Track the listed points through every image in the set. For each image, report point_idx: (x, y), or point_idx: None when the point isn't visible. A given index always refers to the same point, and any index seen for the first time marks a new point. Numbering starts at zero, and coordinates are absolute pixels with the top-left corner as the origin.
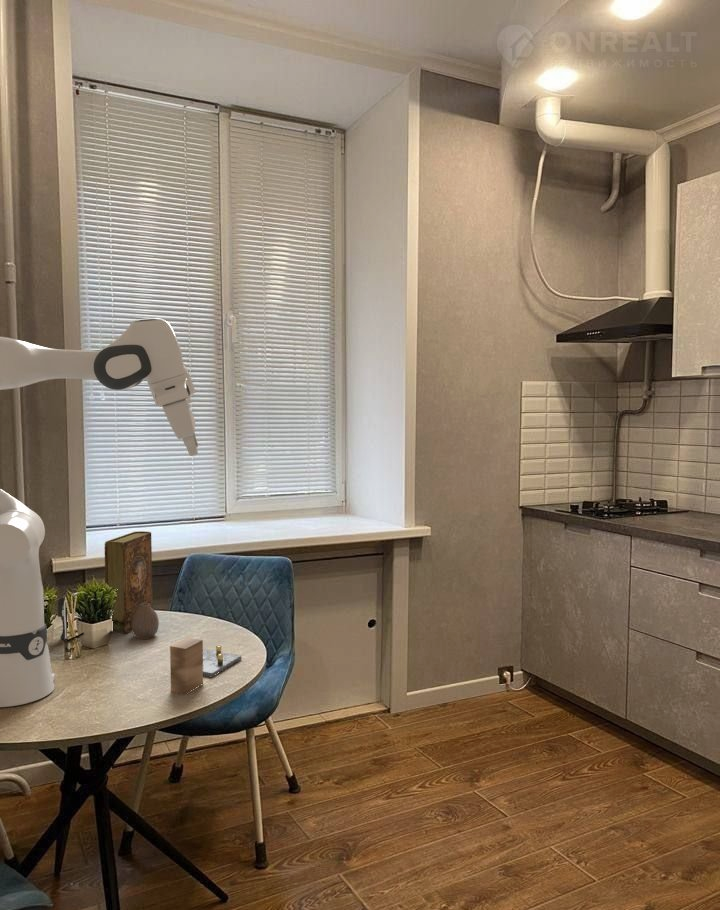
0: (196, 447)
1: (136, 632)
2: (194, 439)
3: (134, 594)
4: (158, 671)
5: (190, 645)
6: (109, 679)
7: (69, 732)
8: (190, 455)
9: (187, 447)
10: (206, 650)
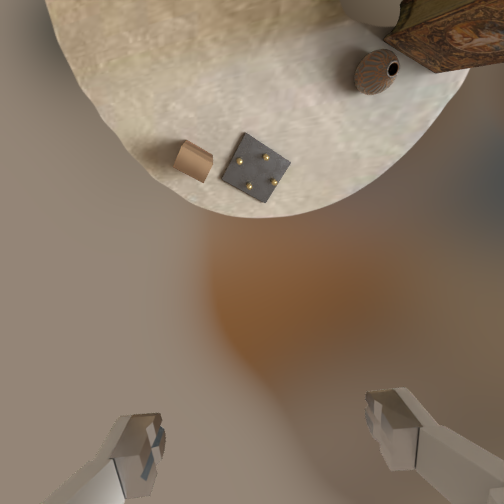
0: (365, 414)
1: (360, 62)
2: (416, 464)
3: (441, 39)
4: (243, 115)
5: (184, 171)
6: (223, 51)
7: (68, 31)
8: (119, 417)
9: (81, 474)
10: (286, 166)
